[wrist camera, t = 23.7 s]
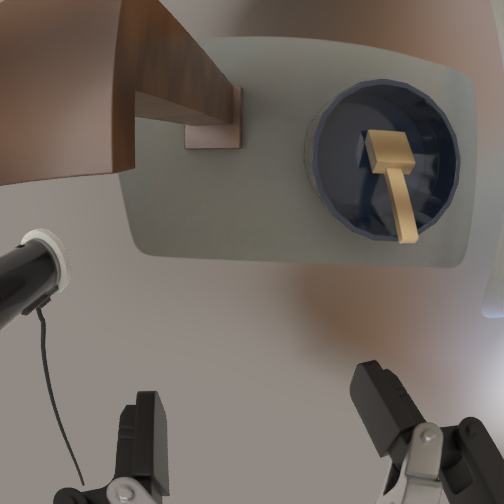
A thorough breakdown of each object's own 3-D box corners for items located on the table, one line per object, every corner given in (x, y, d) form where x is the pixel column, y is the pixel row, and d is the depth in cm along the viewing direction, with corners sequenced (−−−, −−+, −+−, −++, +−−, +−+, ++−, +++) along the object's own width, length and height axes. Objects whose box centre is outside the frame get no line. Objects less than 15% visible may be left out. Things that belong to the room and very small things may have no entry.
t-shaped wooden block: (364, 142, 35) (368, 129, 33) (399, 144, 35) (404, 131, 33) (386, 243, 30) (393, 234, 28) (426, 243, 30) (435, 233, 28)
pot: (418, 224, 39) (448, 245, 31) (300, 216, 40) (307, 236, 32) (428, 103, 33) (462, 97, 25) (305, 85, 34) (313, 69, 26)
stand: (241, 148, 38) (113, 173, 8) (187, 148, 38) (-23, 189, 8) (242, 87, 35) (134, -60, 5) (188, 90, 35) (-9, 8, 5)
